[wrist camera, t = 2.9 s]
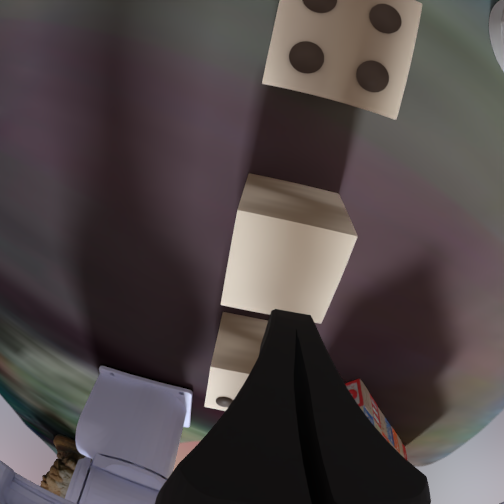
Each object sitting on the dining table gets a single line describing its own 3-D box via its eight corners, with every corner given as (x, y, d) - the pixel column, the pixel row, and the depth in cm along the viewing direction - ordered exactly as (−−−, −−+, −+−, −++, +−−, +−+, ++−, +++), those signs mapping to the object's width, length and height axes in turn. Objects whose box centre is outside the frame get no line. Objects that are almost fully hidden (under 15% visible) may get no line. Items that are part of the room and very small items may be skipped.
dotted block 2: (267, 81, 14) (261, 83, 10) (286, -6, 12) (288, -40, 7) (363, 106, 14) (397, 120, 10) (383, 20, 12) (423, 3, 7)
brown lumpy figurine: (115, 474, 52) (97, 535, 38) (69, 456, 52) (48, 513, 37) (100, 449, 43) (73, 527, 28) (45, 425, 42) (14, 496, 28)
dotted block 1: (215, 355, 25) (204, 407, 20) (223, 310, 22) (210, 367, 18) (276, 366, 25) (273, 419, 20) (292, 324, 22) (293, 382, 18)
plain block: (233, 251, 19) (220, 304, 15) (248, 172, 17) (237, 210, 12) (313, 267, 20) (321, 323, 15) (338, 193, 17) (357, 236, 13)
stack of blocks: (406, 445, 34) (417, 522, 23) (364, 458, 36) (370, 534, 25) (359, 376, 25) (376, 508, 15) (296, 397, 27) (294, 522, 17)
